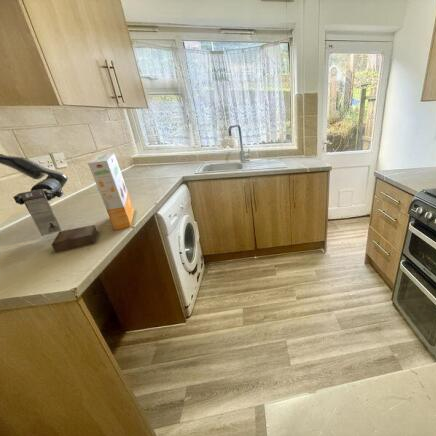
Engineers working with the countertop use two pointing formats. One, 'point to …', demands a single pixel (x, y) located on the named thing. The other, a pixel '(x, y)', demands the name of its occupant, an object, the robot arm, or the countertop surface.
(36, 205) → the coffee box
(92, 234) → the block
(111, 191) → the cereal box
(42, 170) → the robot arm
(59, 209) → the countertop surface
